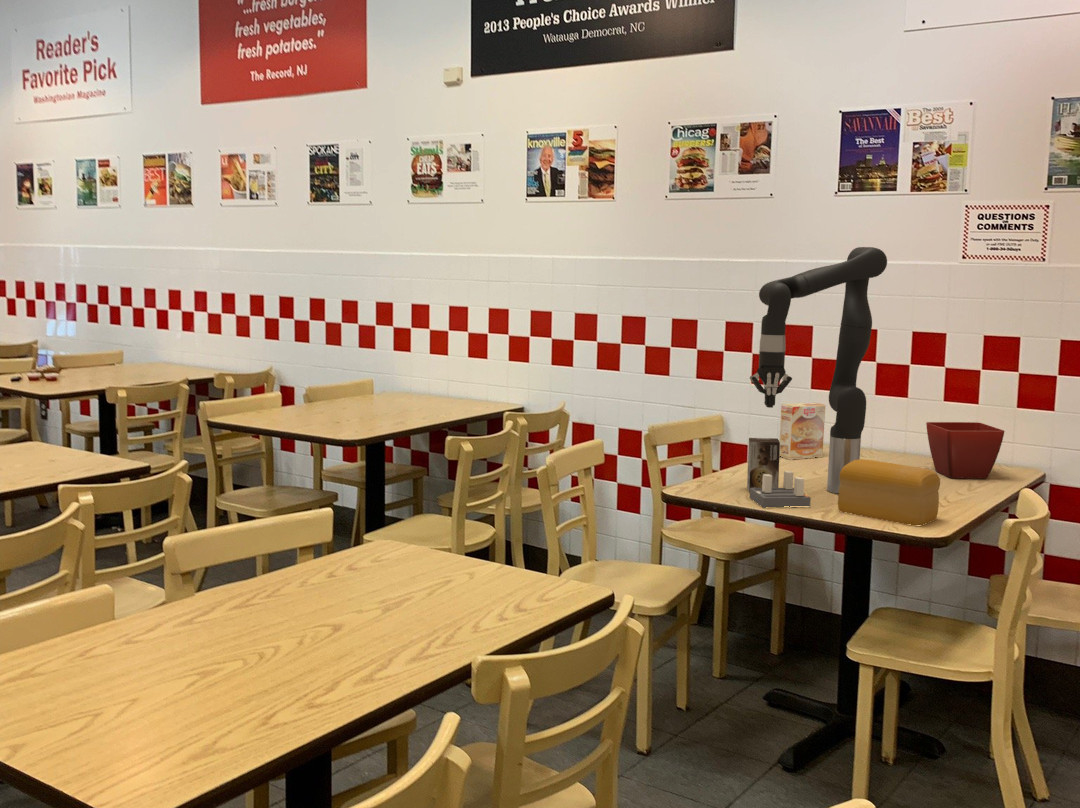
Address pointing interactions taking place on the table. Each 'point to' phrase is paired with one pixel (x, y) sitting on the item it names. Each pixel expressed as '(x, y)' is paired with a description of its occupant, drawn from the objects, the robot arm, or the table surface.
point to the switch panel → (778, 498)
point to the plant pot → (964, 448)
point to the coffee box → (763, 461)
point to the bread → (889, 491)
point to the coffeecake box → (802, 430)
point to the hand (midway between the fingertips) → (769, 407)
